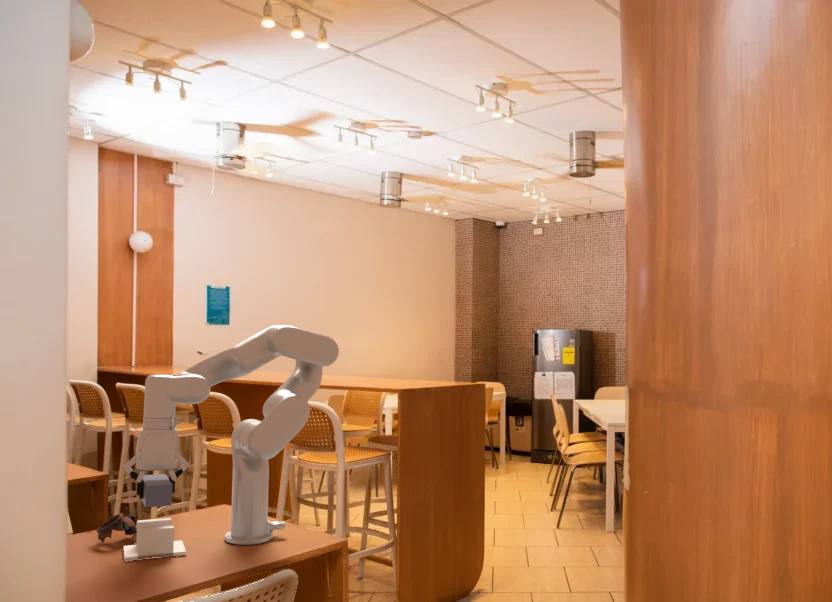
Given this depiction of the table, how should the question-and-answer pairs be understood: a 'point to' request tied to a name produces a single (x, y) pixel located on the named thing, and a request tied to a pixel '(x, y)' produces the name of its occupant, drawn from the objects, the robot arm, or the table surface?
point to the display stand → (154, 541)
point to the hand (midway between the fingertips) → (155, 496)
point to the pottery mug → (119, 526)
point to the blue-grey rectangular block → (157, 490)
